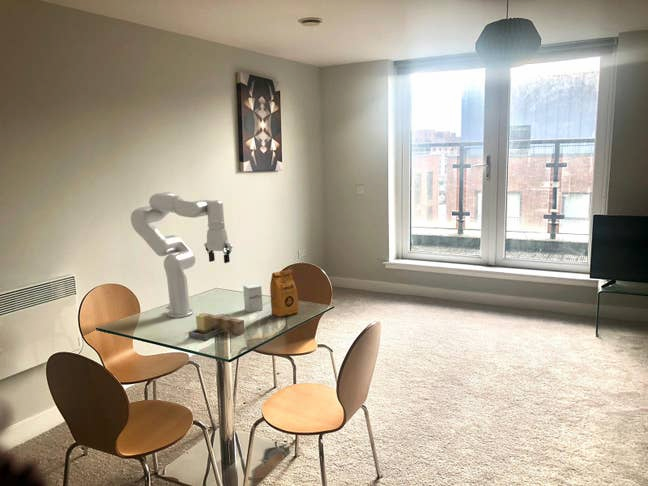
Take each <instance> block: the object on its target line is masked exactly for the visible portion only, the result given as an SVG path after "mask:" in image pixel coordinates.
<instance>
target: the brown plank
mask: <svg viewBox="0 0 648 486" xmlns="http://www.w3.org/2000/svg"><path fill="white" fill-rule="evenodd" d="M211 325H212V327H215V328H220V329H221V331H223V333H226V334H227V333H228V334H233V335H238V336H242V335H244V334H246V330H245V329H246V328H245V320H244V319H241V318H240V319H239V318H234V317H233V318H232V317H227V316H222V315H214V314H211Z"/></svg>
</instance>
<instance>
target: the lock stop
mask: <svg viewBox="0 0 648 486" xmlns="http://www.w3.org/2000/svg"><path fill="white" fill-rule="evenodd" d="M211 315H212V314H211V313H205V312H202V313H200V314H196V315H195V321H196V329H197V333H200V334H207V333H210V332H212V325H211Z"/></svg>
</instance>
